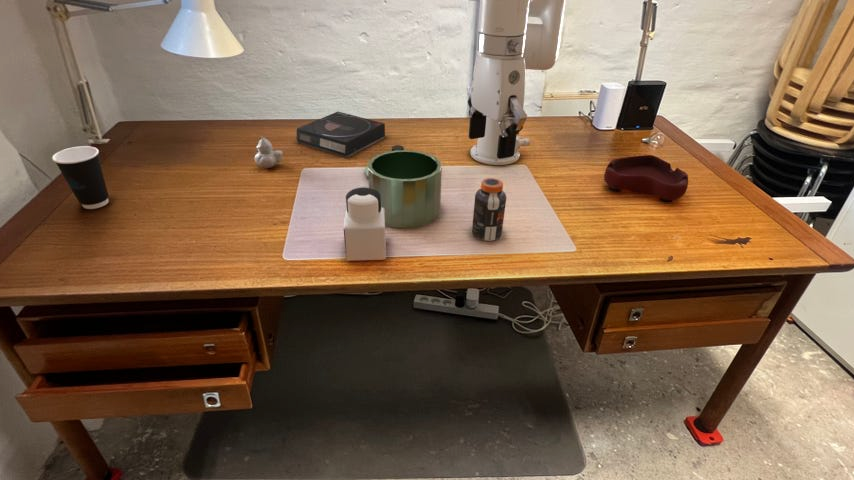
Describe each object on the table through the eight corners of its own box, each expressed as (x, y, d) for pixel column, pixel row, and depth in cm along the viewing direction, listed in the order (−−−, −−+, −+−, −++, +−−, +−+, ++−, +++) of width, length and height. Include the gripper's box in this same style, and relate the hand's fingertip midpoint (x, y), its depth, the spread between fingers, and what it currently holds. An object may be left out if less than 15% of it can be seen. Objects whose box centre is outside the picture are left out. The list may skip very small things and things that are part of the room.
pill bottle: (500, 243, 98) (506, 190, 91) (469, 239, 99) (474, 187, 92) (502, 228, 102) (509, 176, 96) (473, 224, 103) (478, 173, 97)
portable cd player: (297, 143, 135) (295, 129, 132) (339, 125, 147) (337, 111, 144) (345, 158, 128) (344, 143, 126) (385, 137, 140) (384, 123, 138)
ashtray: (685, 180, 123) (691, 161, 120) (681, 210, 111) (688, 189, 108) (609, 165, 129) (614, 147, 126) (598, 192, 116) (603, 172, 114)
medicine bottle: (348, 240, 97) (343, 183, 90) (385, 239, 98) (383, 182, 91) (346, 261, 92) (340, 202, 84) (385, 260, 92) (383, 202, 85)
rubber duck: (257, 162, 125) (251, 130, 120) (285, 161, 126) (280, 130, 121) (255, 171, 120) (249, 139, 116) (283, 170, 121) (278, 138, 117)
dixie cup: (117, 191, 111) (99, 143, 104) (116, 208, 105) (97, 158, 98) (75, 198, 108) (53, 149, 101) (72, 215, 102) (49, 164, 95)
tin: (421, 189, 115) (422, 145, 109) (451, 219, 105) (454, 172, 99) (360, 202, 110) (357, 156, 104) (386, 234, 99) (384, 186, 93)
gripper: (552, 54, 76) (535, 162, 86) (492, 33, 89) (483, 128, 99) (510, 58, 73) (498, 169, 83) (454, 35, 86) (449, 133, 96)
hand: (490, 147), depth 91 cm, fingers open, 9 cm apart
